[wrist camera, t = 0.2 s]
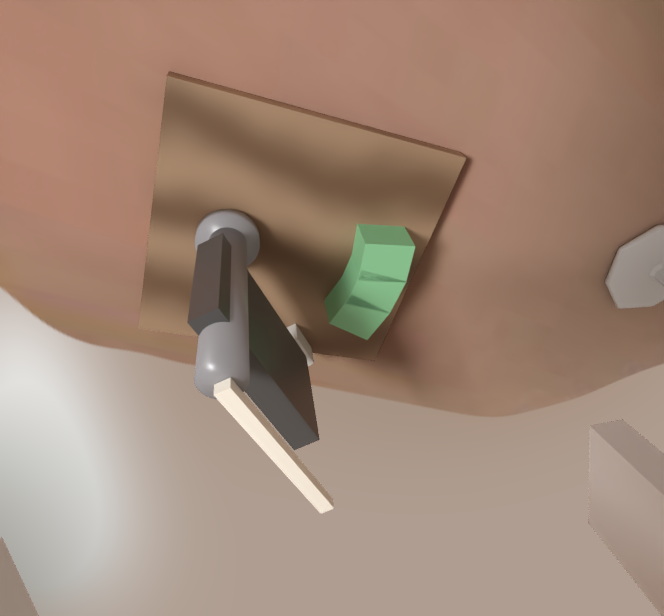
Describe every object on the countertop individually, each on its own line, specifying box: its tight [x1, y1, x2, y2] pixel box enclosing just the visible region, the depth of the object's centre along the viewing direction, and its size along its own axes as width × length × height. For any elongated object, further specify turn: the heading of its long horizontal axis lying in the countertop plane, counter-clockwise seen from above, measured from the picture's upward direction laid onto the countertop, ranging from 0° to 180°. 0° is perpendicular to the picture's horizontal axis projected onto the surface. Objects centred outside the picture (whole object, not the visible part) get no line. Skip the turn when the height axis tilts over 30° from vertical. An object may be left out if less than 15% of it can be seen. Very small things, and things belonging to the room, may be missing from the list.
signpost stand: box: [187, 209, 334, 513], centre depth 33 cm, size 14×4×15 cm, turn 24°
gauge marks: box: [287, 224, 415, 366], centre depth 39 cm, size 14×5×3 cm, turn 144°
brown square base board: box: [138, 71, 466, 361], centre depth 38 cm, size 19×20×1 cm
